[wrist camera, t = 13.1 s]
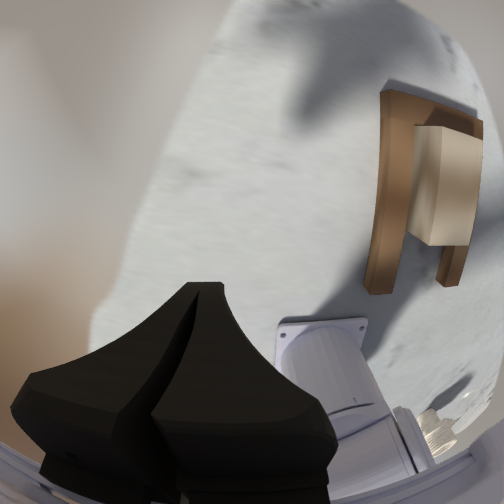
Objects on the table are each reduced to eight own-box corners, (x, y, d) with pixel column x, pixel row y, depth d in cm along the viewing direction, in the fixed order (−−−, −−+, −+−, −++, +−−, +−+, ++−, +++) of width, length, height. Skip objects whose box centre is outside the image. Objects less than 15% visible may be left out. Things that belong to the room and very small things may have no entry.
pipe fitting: (420, 426, 33) (435, 459, 26) (400, 424, 32) (417, 462, 24) (447, 403, 31) (465, 436, 24) (430, 399, 30) (451, 437, 22)
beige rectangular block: (440, 228, 19) (468, 245, 16) (400, 226, 19) (428, 245, 16) (450, 136, 16) (482, 140, 13) (409, 125, 16) (442, 126, 12)
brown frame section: (449, 278, 21) (458, 285, 20) (363, 285, 21) (370, 295, 19) (471, 120, 15) (482, 121, 14) (380, 92, 15) (390, 89, 14)
